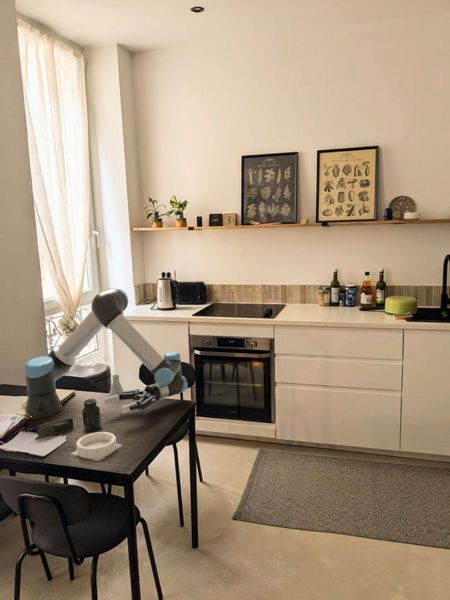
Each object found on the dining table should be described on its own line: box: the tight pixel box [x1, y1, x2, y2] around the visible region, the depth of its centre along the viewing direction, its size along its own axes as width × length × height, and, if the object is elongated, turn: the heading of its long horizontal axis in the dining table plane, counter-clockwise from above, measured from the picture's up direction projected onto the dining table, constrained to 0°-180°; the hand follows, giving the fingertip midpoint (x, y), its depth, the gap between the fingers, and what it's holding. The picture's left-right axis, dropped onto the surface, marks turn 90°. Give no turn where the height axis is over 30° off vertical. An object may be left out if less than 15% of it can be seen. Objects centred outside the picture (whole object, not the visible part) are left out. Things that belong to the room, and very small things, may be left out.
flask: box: [108, 374, 124, 397], centre depth 224 cm, size 7×7×10 cm
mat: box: [70, 442, 123, 462], centre depth 170 cm, size 13×13×1 cm
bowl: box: [75, 431, 117, 460], centre depth 170 cm, size 13×13×4 cm
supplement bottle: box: [81, 398, 102, 433], centre depth 187 cm, size 7×7×12 cm
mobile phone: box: [34, 417, 74, 440], centre depth 185 cm, size 5×3×15 cm
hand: (113, 406), depth 194 cm, fingers open, 13 cm apart
